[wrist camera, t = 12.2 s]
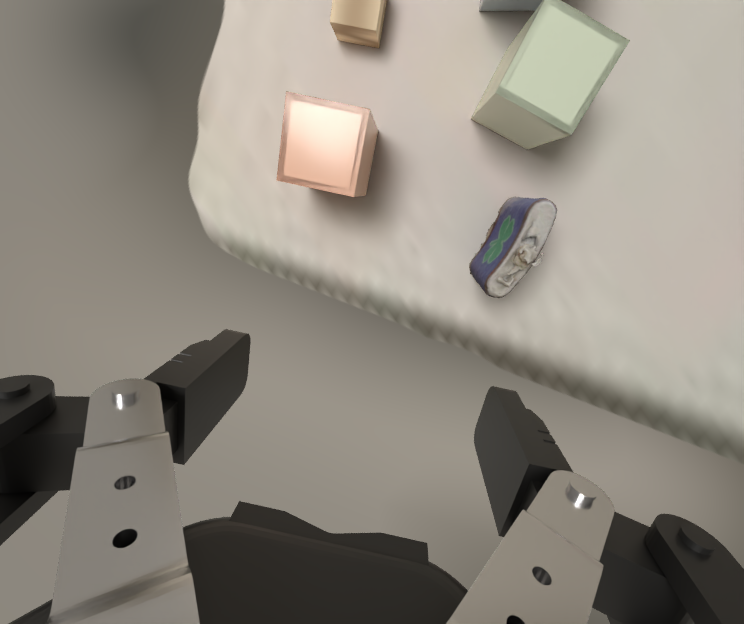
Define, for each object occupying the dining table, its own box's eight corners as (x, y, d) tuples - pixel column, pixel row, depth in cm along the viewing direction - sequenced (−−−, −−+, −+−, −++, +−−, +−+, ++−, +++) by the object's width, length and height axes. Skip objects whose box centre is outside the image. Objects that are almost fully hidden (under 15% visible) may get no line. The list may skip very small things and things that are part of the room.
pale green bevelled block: (566, 82, 34) (629, 40, 24) (527, 149, 36) (571, 134, 26) (507, 49, 33) (548, -7, 24) (470, 118, 35) (495, 92, 26)
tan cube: (388, -5, 33) (385, -30, 29) (379, 48, 34) (376, 30, 31) (343, -13, 33) (335, -40, 29) (336, 40, 34) (328, 21, 31)
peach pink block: (378, 130, 36) (369, 108, 27) (365, 195, 39) (353, 197, 29) (316, 117, 37) (286, 91, 27) (307, 182, 39) (276, 180, 29)
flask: (508, 192, 37) (547, 194, 27) (533, 205, 38) (581, 211, 27) (463, 271, 40) (484, 299, 30) (486, 283, 41) (514, 314, 30)
